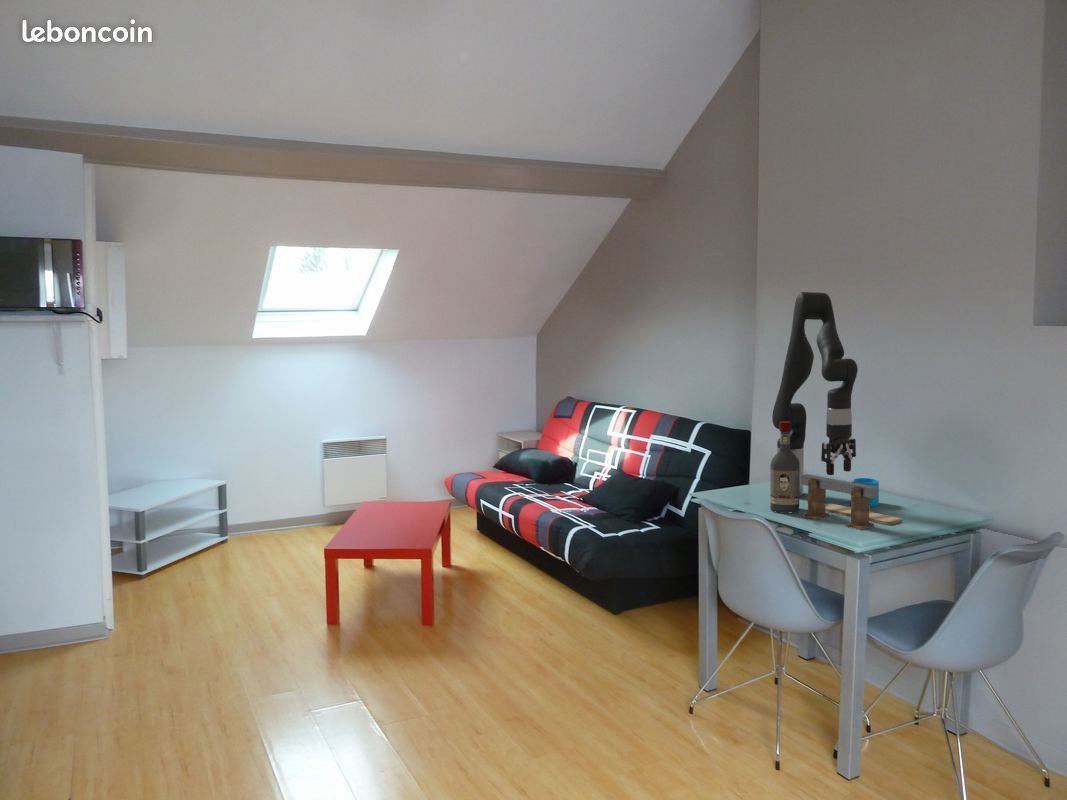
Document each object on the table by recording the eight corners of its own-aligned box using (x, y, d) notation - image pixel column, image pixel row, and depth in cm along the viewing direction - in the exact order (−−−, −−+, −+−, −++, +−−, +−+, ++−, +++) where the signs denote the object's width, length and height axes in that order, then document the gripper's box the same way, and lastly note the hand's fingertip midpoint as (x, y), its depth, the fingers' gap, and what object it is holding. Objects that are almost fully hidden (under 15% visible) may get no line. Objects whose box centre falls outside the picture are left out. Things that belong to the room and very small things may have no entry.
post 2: (845, 526, 256) (846, 487, 255) (859, 522, 260) (860, 484, 259) (860, 529, 252) (860, 490, 251) (873, 525, 256) (874, 486, 255)
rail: (801, 484, 272) (801, 475, 271) (807, 483, 273) (807, 474, 273) (872, 498, 250) (872, 488, 250) (877, 496, 252) (878, 487, 252)
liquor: (771, 506, 285) (771, 419, 281) (799, 507, 282) (800, 420, 278) (769, 512, 276) (770, 423, 273) (798, 514, 273) (799, 424, 270)
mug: (884, 504, 282) (884, 481, 281) (865, 507, 279) (865, 483, 278) (858, 497, 293) (858, 475, 292) (839, 500, 290) (840, 477, 289)
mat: (818, 509, 278) (818, 506, 278) (831, 506, 282) (831, 503, 282) (888, 525, 256) (889, 522, 256) (902, 521, 260) (902, 518, 260)
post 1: (803, 516, 270) (803, 479, 268) (817, 513, 274) (817, 476, 272) (816, 519, 266) (816, 481, 264) (829, 516, 269) (830, 478, 268)
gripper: (842, 419, 266) (842, 468, 268) (814, 423, 259) (814, 474, 260) (863, 421, 260) (863, 471, 262) (835, 425, 252) (834, 477, 254)
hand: (838, 473), depth 261 cm, fingers open, 8 cm apart
